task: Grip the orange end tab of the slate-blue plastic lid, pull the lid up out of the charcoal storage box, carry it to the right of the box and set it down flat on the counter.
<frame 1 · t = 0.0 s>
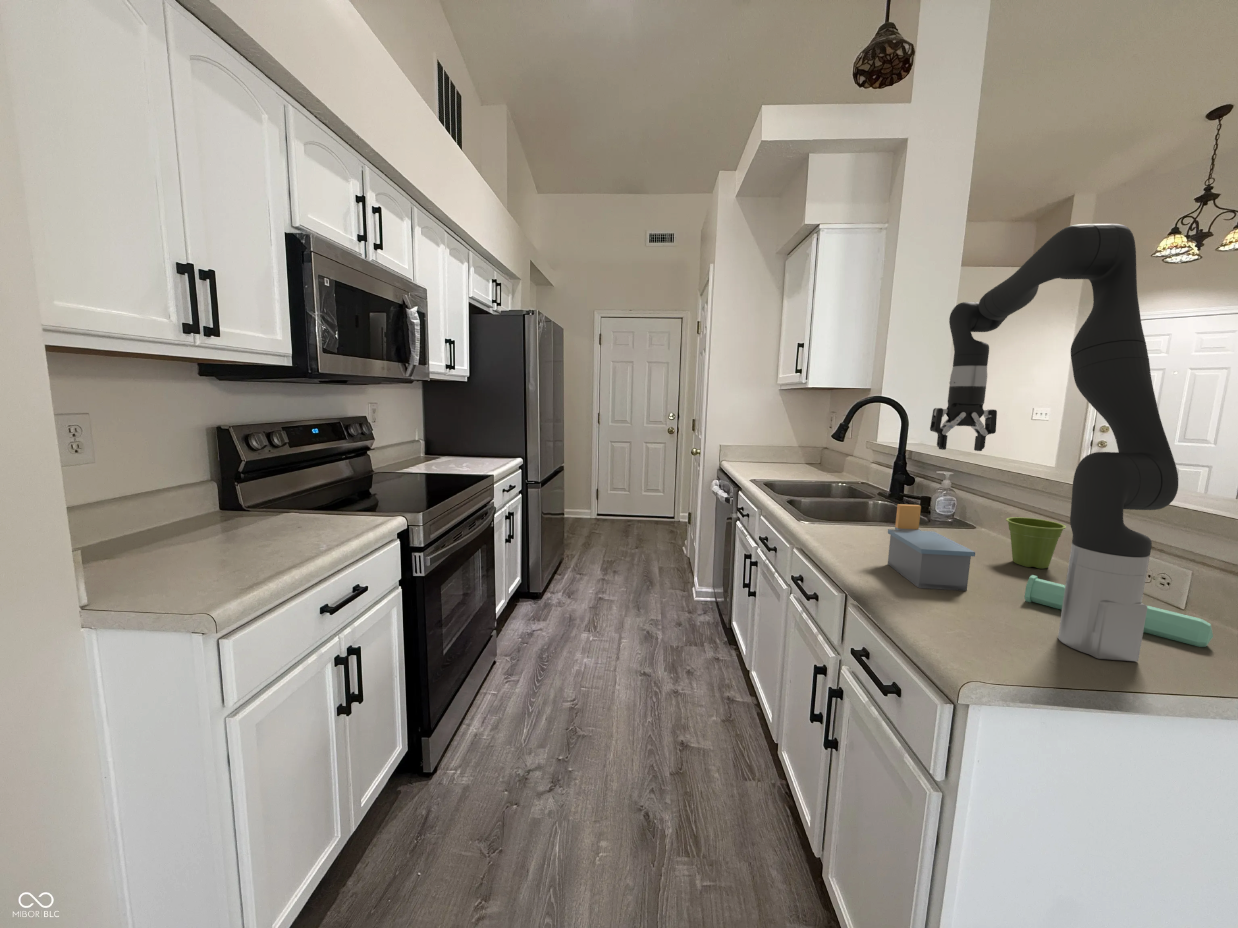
hand: (960, 450, 124), 29 cm above the countertop, tool pointing down, fingers open, 8 cm apart
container: (1109, 623, 94), on the countertop
storage box: (924, 576, 116), on the countertop
beer bottle: (1095, 593, 109), on the countertop
plant pot: (1029, 565, 128), on the countertop
lid: (927, 547, 116), point 7 cm above the countertop, touching storage box
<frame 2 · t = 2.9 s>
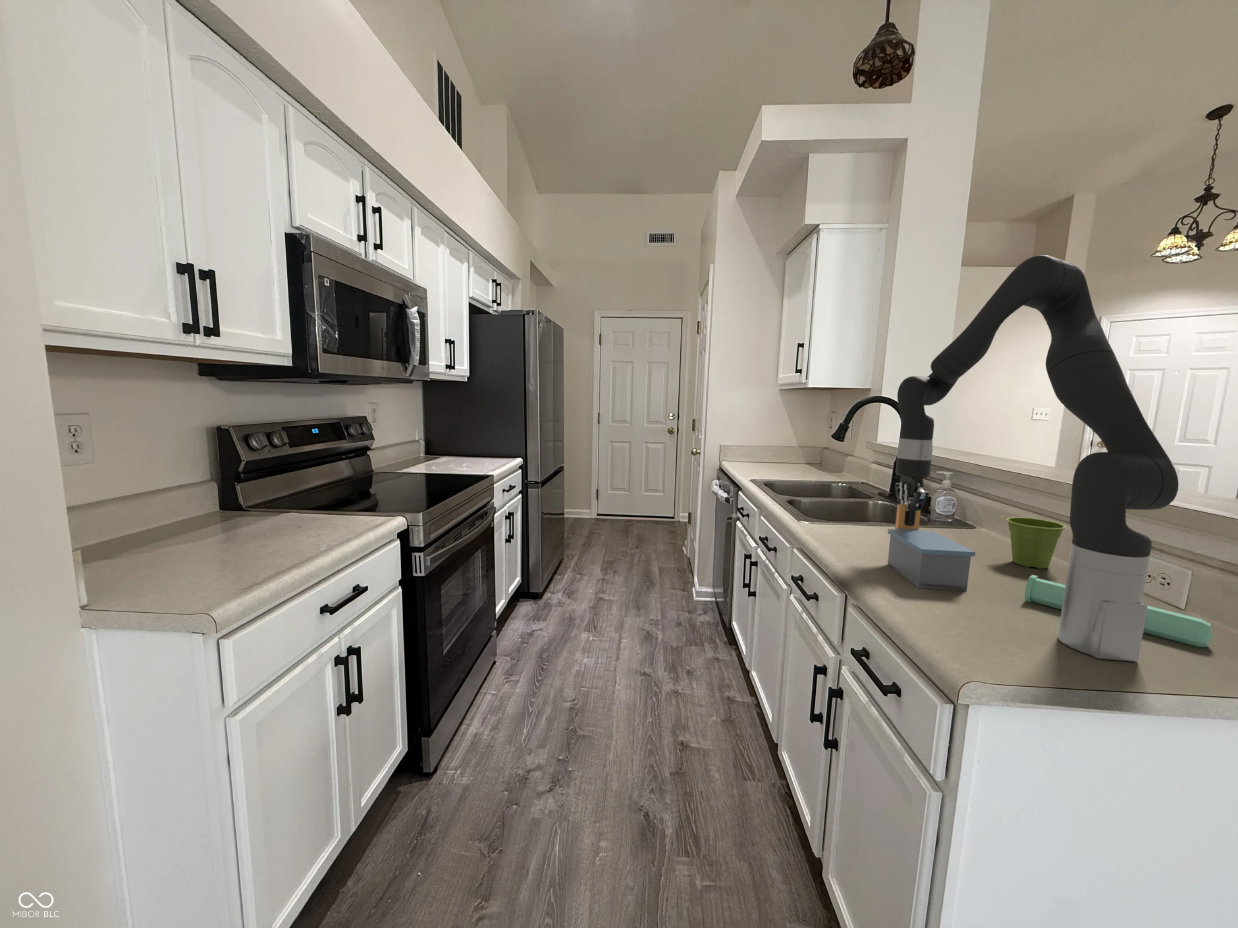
hand: (907, 524, 126), 10 cm above the countertop, tool pointing down, fingers closed on lid
lid: (927, 547, 116), point 7 cm above the countertop, touching gripper
everything else where it was.
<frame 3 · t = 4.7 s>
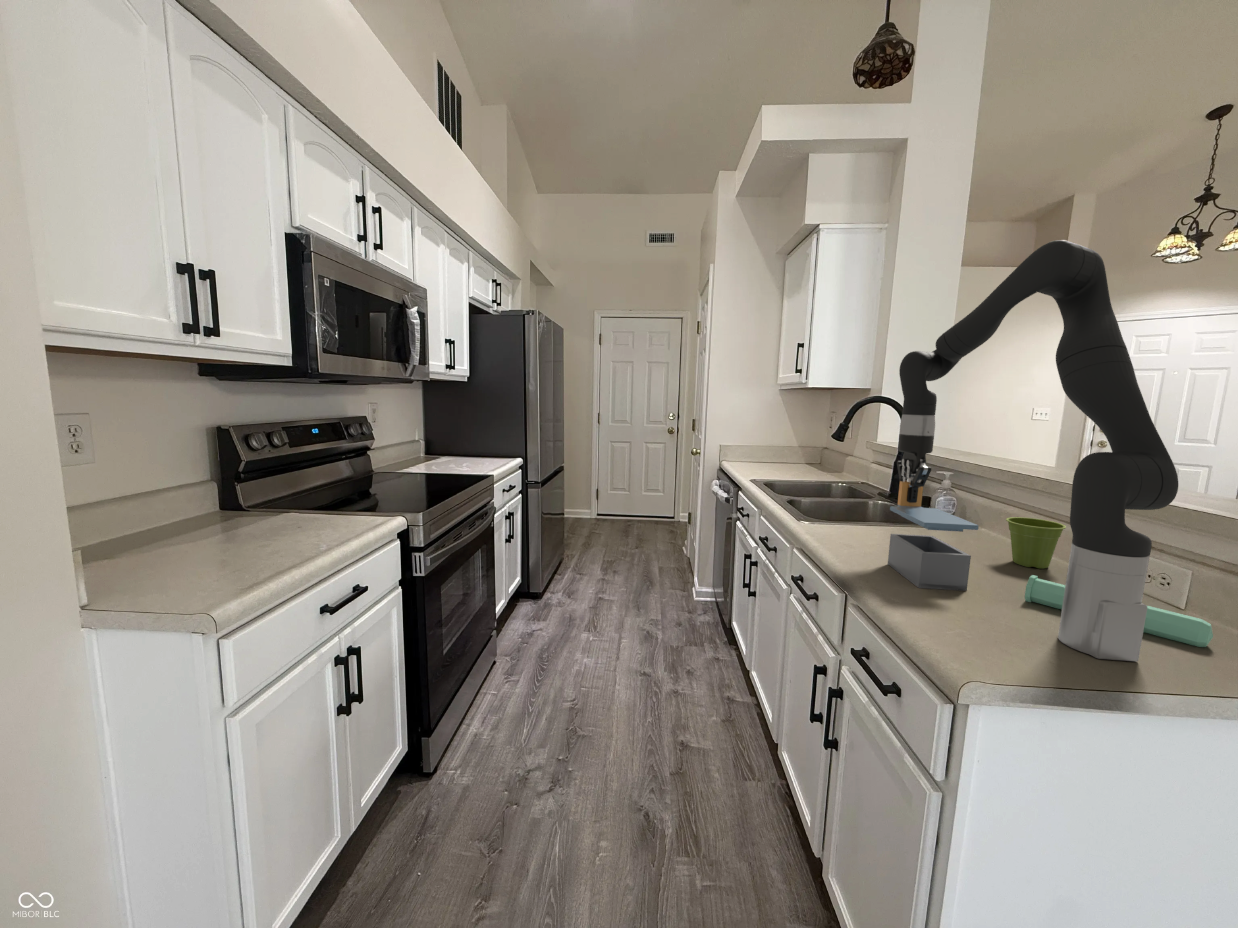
hand: (909, 501, 125), 16 cm above the countertop, tool pointing down, fingers closed on lid
lid: (930, 523, 115), point 13 cm above the countertop, touching gripper
everything else where it was.
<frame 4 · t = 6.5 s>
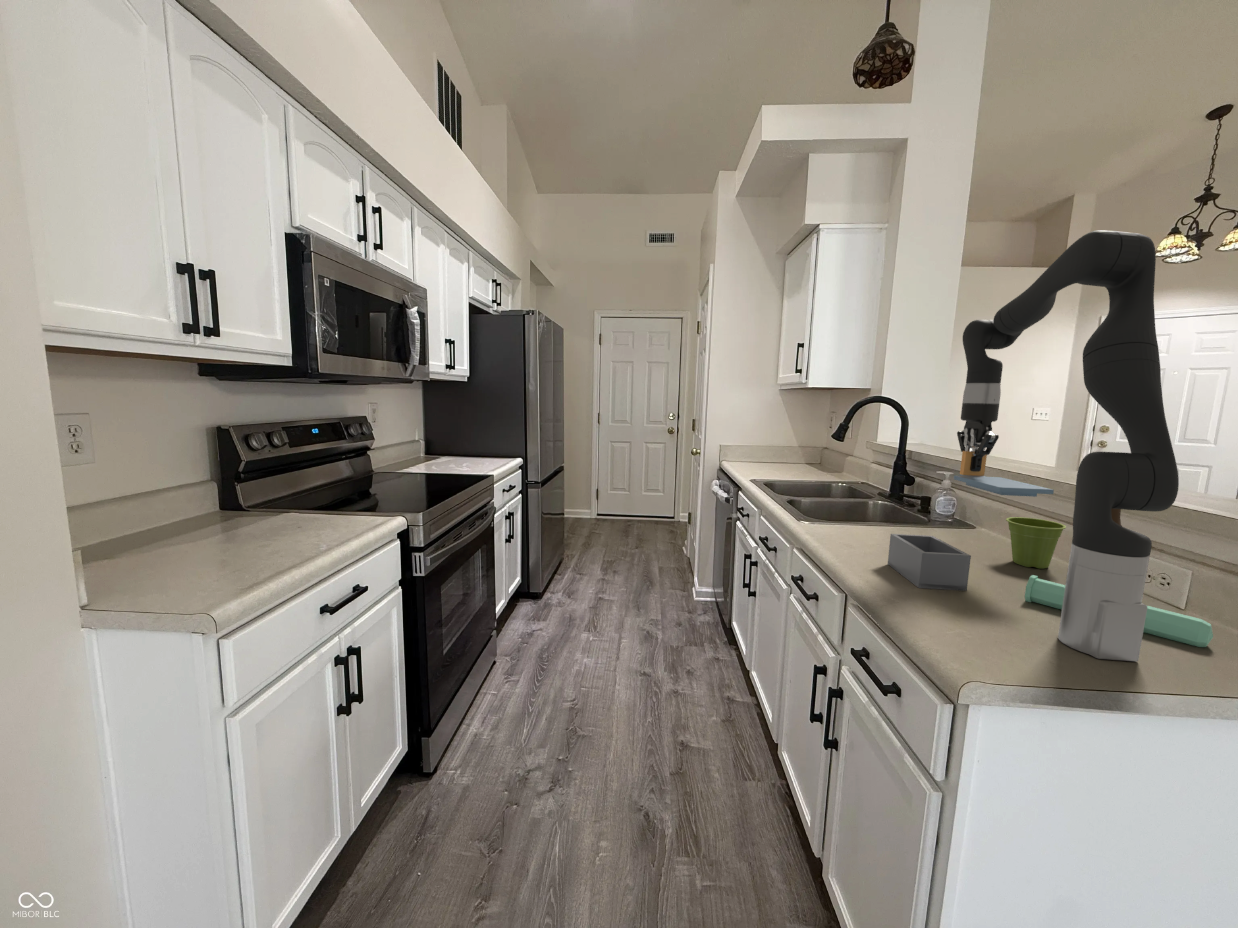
hand: (972, 470, 125), 24 cm above the countertop, tool pointing down, fingers closed on lid
lid: (999, 490, 115), point 21 cm above the countertop, touching gripper
everything else where it was.
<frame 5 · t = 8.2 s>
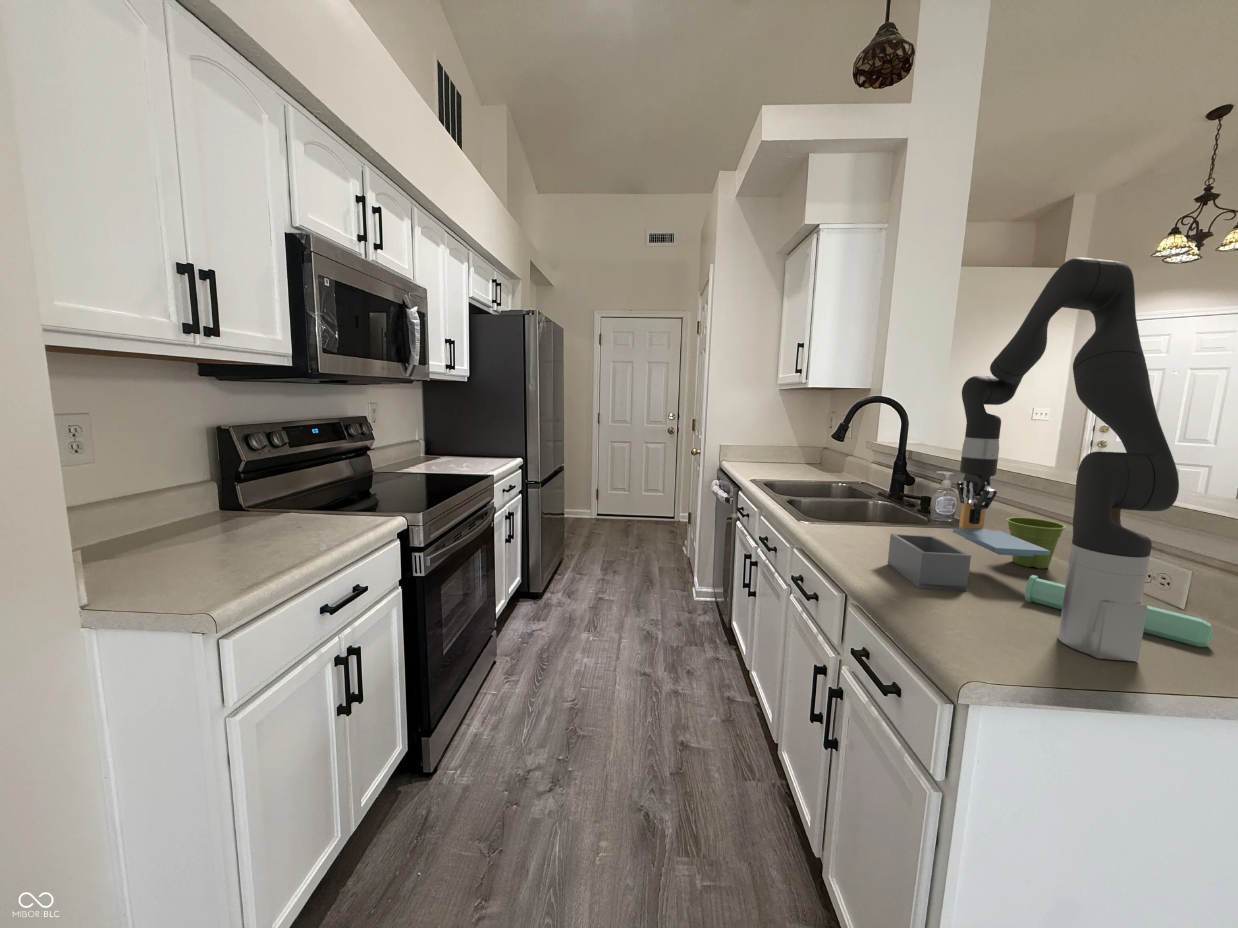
hand: (971, 522, 127), 11 cm above the countertop, tool pointing down, fingers closed on lid
lid: (997, 546, 117), point 7 cm above the countertop, touching gripper
everything else where it was.
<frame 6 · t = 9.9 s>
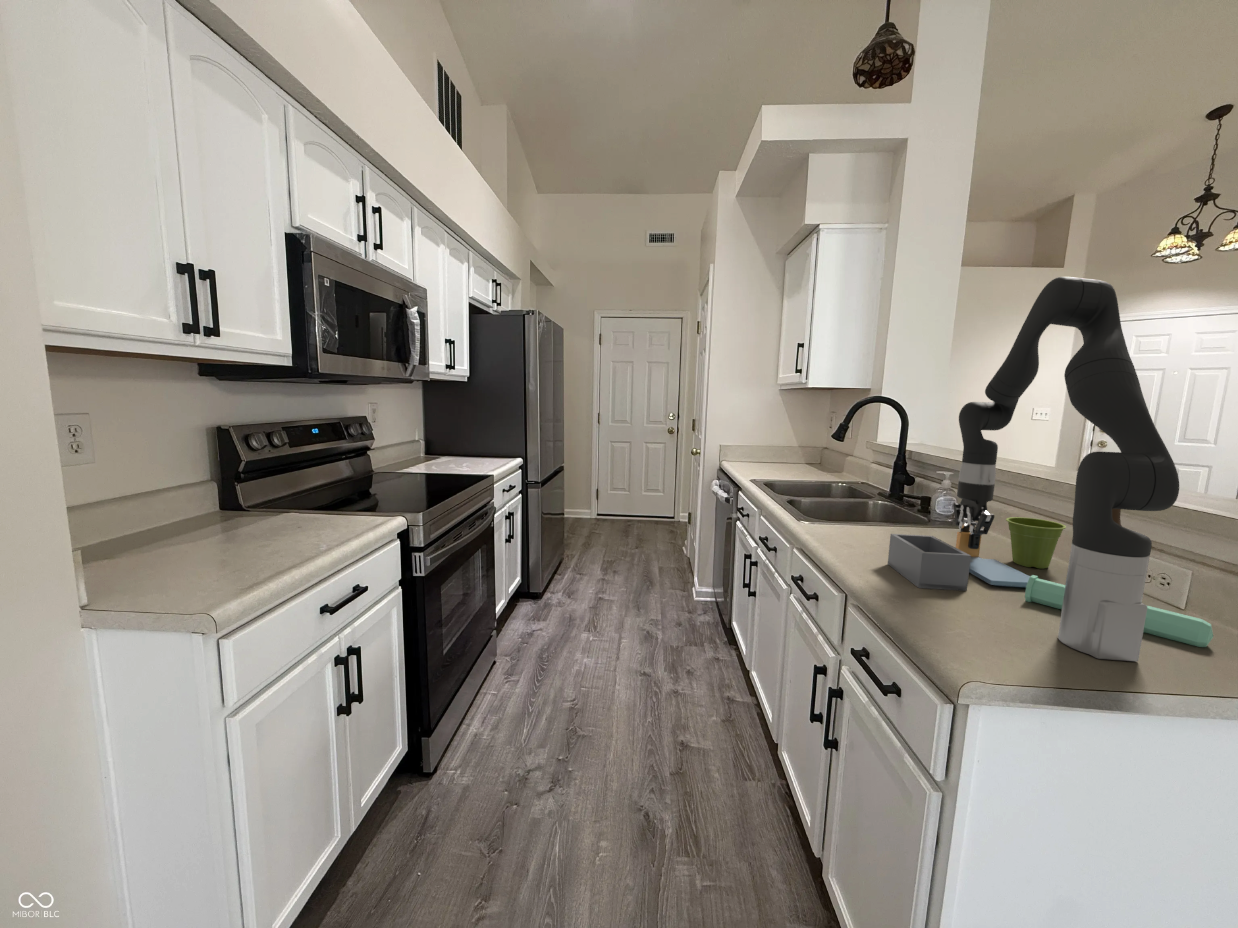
hand: (968, 545, 128), 4 cm above the countertop, tool pointing down, fingers open, 3 cm apart
lid: (992, 577, 118), on the countertop
everything else where it was.
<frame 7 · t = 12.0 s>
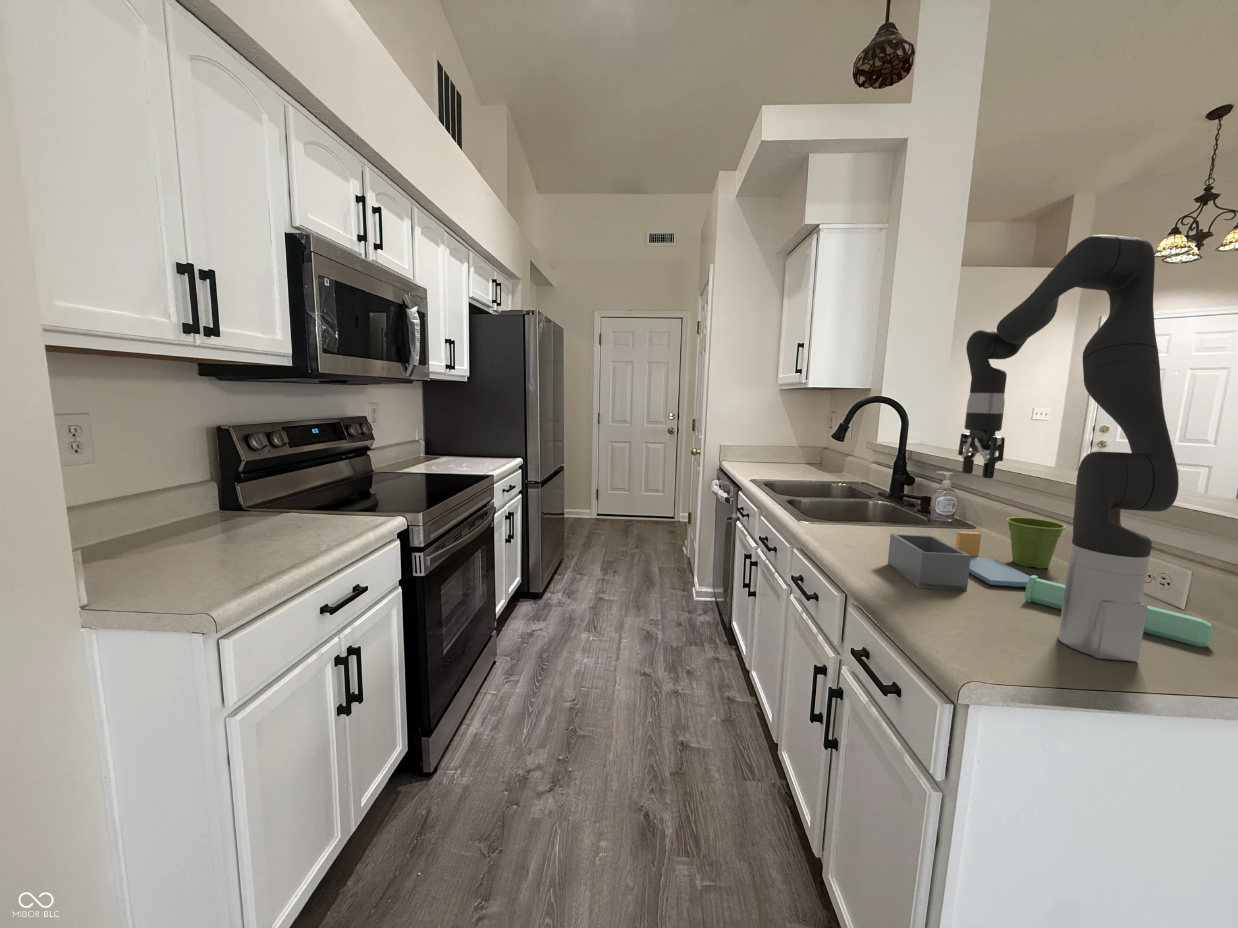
hand: (977, 475, 125), 23 cm above the countertop, tool pointing down, fingers open, 8 cm apart
nothing on the countertop moved.
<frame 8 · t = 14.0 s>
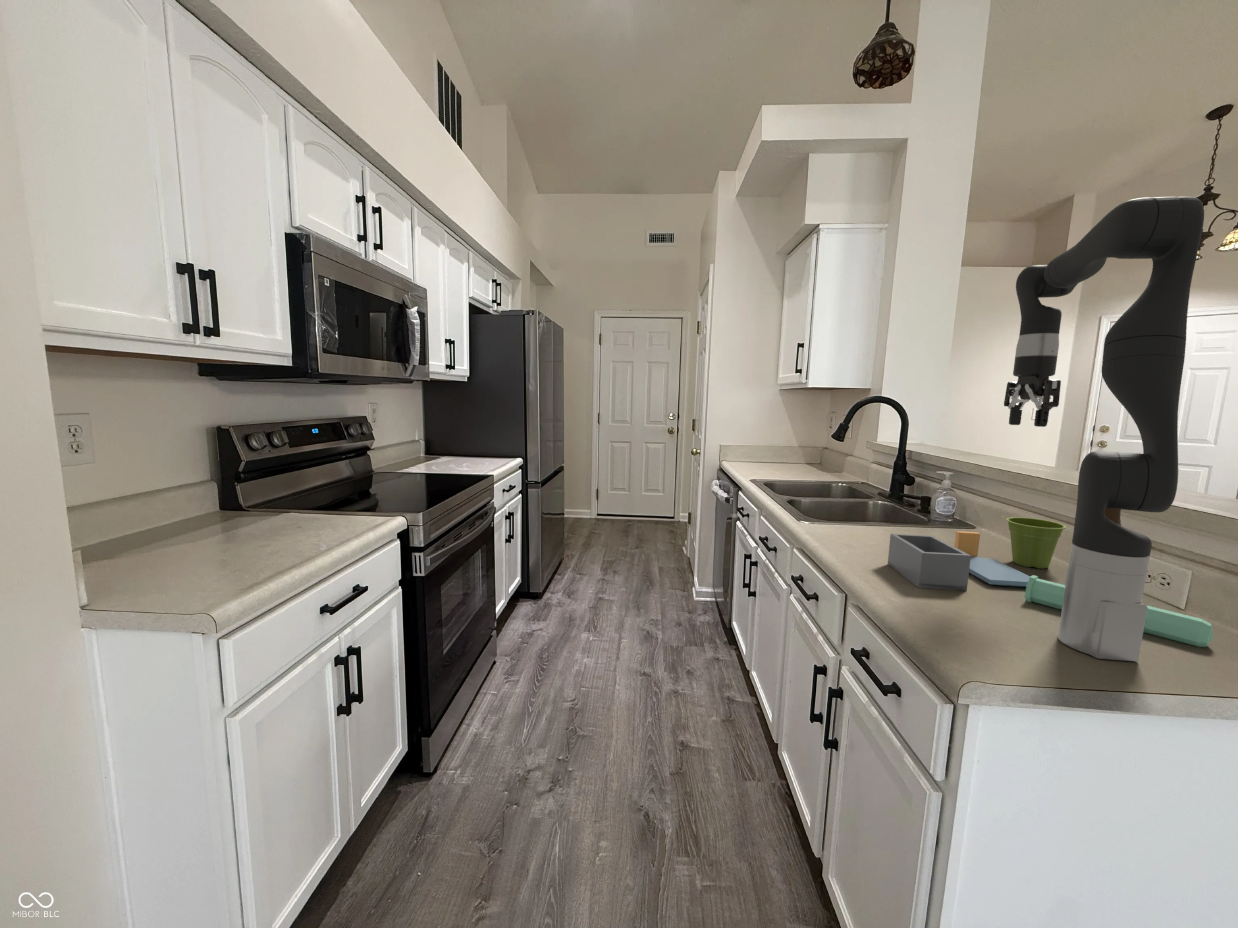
hand: (1026, 425, 115), 36 cm above the countertop, tool pointing down, fingers open, 8 cm apart
nothing on the countertop moved.
at the end: lid inside the target area (0.8 cm from its centre), on the countertop; lid tilted 0°; the gripper is holding nothing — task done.
